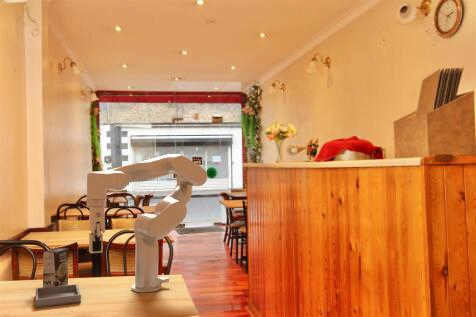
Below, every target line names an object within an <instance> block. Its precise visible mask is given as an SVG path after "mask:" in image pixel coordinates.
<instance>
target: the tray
mask: <svg viewBox="0 0 476 317" xmlns="http://www.w3.org/2000/svg"><path fill="white" fill-rule="evenodd" d="M81 303H82V294H81V292H80V288H79V285H78V283H76V284H68V285H63V286H53V287H43V286H42V287H36V288H35V309H39V308H40V309H41V308H49V307H56V306H57V307H58V306H63V305H74V304H81Z"/></svg>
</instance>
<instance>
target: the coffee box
mask: <svg viewBox="0 0 476 317" xmlns="http://www.w3.org/2000/svg"><path fill="white" fill-rule="evenodd" d="M42 258H43V259H42V261H43V262H42V288H43V287H53V286H63V285H69V248H68V247H67V248H65V247H59V248H58V247H55V248H52V249H49V250H46V251H43V257H42Z"/></svg>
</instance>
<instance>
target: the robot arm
mask: <svg viewBox="0 0 476 317" xmlns="http://www.w3.org/2000/svg"><path fill="white" fill-rule="evenodd" d="M167 175H168V176H169V175H176V185H175V188H174V189H173V190H172V191H171V192H170V193H168V194H167V195H166V196H164V198H162V199H161V200H159V202H157V204H156V205H155V207H154V214H153V213H142V214H140V215H138V216H137V217H136V218H135V220H134V223H133V232H134V234H133V235H134V238H135V239H134V240H135V241H134V242H135V252H134V253H135V254H134V255H135V258H134V259H135V261H134V263H135V265H134V268H135V269H134V271H135V272H134V277H135V278H134V283H133V284H132V285H131V287H130V288H131V291H133V292H135V293H153V292H158V291H160V290H161V289H162V286H163V285H162V284H166V283H169V282H170V278H169V277H159V240H162V239H164V238H165V237H166V236H168V235H169V234H170V233H171V232H172V231H174V230H175V228H177V227H178V226H180V225H181V224H182V222H183V221H184V220H185V219H186V216H187V213H188V209H187V206H186V205H187V204H188V202H190V201H191V199H192V194H193V187H201V186H203V185H205V184H206V183H207V181H208V173H207V171H206V169H205V168H204V167H202V166H201V165H199V164H197V163H196V162H194V161H192V159H189V158H188V157H186V156H184V155H183V154H172V153H171V154H165V155H162V156H158V157H155V158H151V159H147V160H143V161H140V162H136V163H132V164H127V165H124V166H120V167H115V168H112V169H108V170H106V171H90V172H88V173H87V175H86V208H88V209H89V213H88V215H89V218H88V221H89V223H88V224H89V225H88V226H89V231H90V233H93V245H92V251H93V252H95V251H101V233H102V234H104V233H106V214H105V213H106V212H105V208H107V201H108V200H107V197H108V195H107V194H108V190H113V191H121V190H124V189H125V188H127V187H128V184H129V183H137V182H142V183H143V182H149V181H152V180H156V179H159V178H161V177H165V176H167Z"/></svg>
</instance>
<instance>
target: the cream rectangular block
mask: <svg viewBox="0 0 476 317" xmlns="http://www.w3.org/2000/svg"><path fill="white" fill-rule="evenodd" d="M88 234H89V235H88V236H89V238H88V252H89V253H90V254H99V253H104V252H103V248H104V246H103V245H104V244H103V242H104V237H103V236H104V233H103V232H101V251H95V252H93V251H92V245H93V233H91V232H90V233H88Z"/></svg>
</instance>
